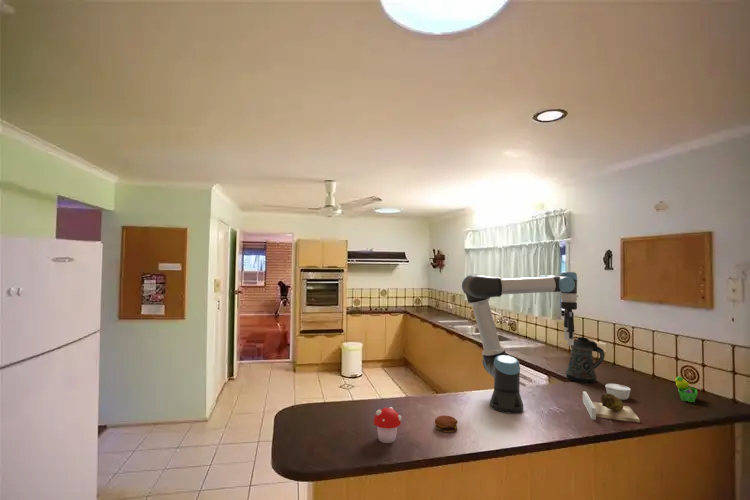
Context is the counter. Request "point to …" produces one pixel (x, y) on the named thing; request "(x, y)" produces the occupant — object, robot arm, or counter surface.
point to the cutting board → (616, 413)
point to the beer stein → (583, 361)
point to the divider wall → (589, 405)
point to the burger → (446, 423)
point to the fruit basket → (685, 390)
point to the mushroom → (387, 424)
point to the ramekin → (618, 391)
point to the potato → (611, 402)
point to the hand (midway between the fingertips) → (568, 342)
